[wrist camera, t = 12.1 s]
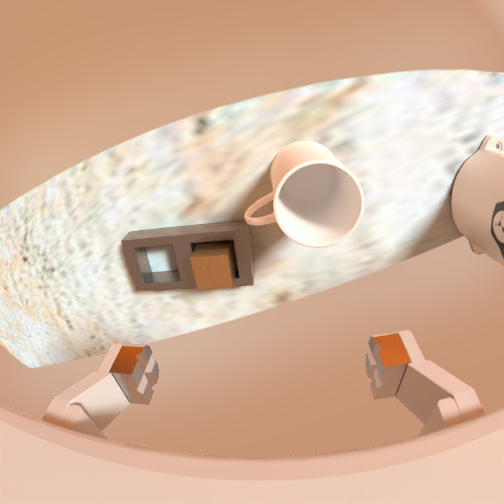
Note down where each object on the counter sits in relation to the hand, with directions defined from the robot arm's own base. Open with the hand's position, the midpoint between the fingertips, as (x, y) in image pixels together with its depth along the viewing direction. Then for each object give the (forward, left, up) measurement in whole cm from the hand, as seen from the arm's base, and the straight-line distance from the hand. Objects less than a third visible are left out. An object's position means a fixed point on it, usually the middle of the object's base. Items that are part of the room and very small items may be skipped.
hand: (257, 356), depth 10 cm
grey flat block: (+11, +10, -29) cm, 33 cm away
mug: (-3, +1, -29) cm, 29 cm away
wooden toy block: (+7, +10, -29) cm, 32 cm away
